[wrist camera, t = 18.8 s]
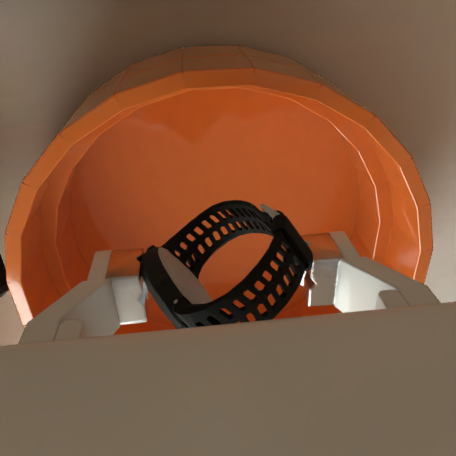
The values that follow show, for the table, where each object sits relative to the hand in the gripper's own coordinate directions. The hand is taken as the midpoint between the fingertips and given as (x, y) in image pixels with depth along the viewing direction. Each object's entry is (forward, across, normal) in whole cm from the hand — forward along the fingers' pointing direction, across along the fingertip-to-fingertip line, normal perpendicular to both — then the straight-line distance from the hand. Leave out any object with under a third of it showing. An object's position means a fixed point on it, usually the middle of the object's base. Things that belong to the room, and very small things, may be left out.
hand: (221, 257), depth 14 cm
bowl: (+9, 0, +4) cm, 10 cm away
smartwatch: (+2, 0, 0) cm, 2 cm away
